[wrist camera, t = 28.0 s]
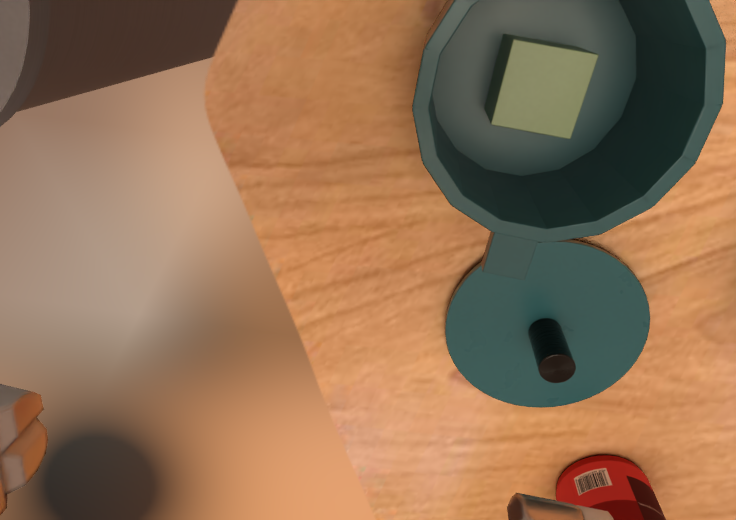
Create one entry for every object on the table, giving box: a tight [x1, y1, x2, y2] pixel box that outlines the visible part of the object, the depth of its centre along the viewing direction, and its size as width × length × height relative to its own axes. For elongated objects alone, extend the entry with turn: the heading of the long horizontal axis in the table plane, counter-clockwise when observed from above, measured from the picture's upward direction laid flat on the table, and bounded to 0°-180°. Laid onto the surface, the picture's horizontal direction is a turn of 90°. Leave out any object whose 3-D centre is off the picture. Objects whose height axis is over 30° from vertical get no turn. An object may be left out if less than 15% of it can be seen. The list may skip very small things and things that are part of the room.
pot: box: [412, 0, 726, 280], centre depth 29 cm, size 14×19×10 cm
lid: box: [445, 239, 650, 407], centre depth 38 cm, size 15×15×6 cm
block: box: [484, 34, 599, 139], centre depth 31 cm, size 4×4×4 cm
